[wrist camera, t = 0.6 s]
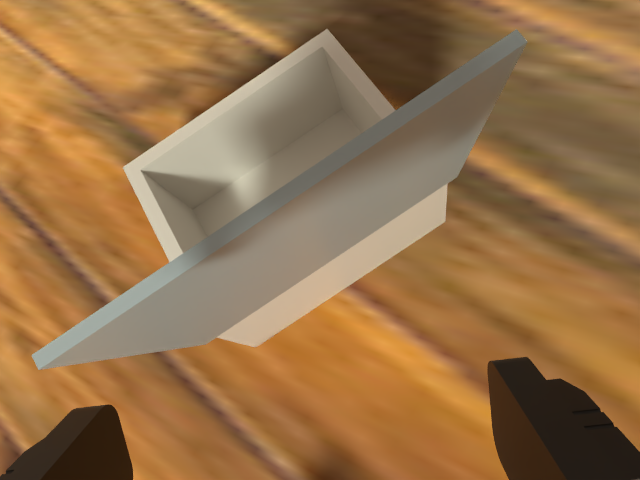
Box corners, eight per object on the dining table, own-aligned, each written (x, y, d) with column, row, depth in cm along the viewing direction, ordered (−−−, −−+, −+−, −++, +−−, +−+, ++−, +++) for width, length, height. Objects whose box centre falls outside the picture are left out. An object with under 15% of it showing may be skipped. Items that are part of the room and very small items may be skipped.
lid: (516, 29, 17) (527, 42, 17) (451, 170, 33) (457, 176, 33) (31, 355, 17) (38, 370, 17) (201, 336, 33) (205, 344, 33)
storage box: (348, 99, 48) (327, 28, 39) (445, 221, 42) (448, 173, 33) (182, 210, 49) (122, 167, 39) (255, 347, 43) (205, 334, 33)
